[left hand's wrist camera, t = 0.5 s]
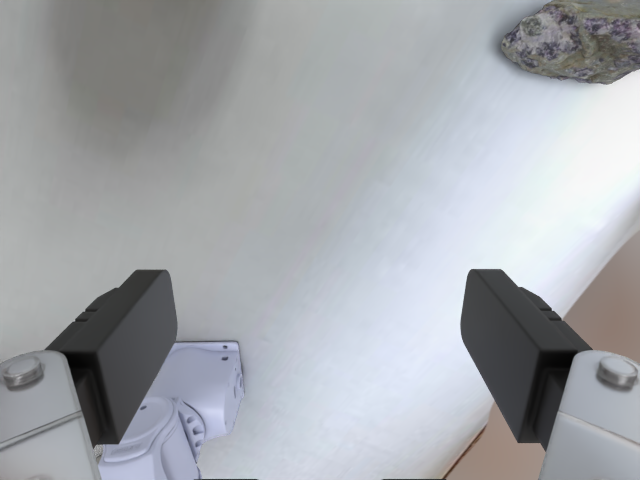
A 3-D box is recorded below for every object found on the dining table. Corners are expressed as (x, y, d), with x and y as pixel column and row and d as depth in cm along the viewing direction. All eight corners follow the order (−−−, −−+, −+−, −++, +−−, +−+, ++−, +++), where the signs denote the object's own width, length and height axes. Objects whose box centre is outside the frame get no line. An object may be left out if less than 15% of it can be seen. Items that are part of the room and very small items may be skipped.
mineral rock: (484, 51, 36) (540, 39, 27) (564, -78, 33) (660, -144, 23) (597, 123, 38) (686, 134, 29) (684, 8, 35) (817, -22, 25)
